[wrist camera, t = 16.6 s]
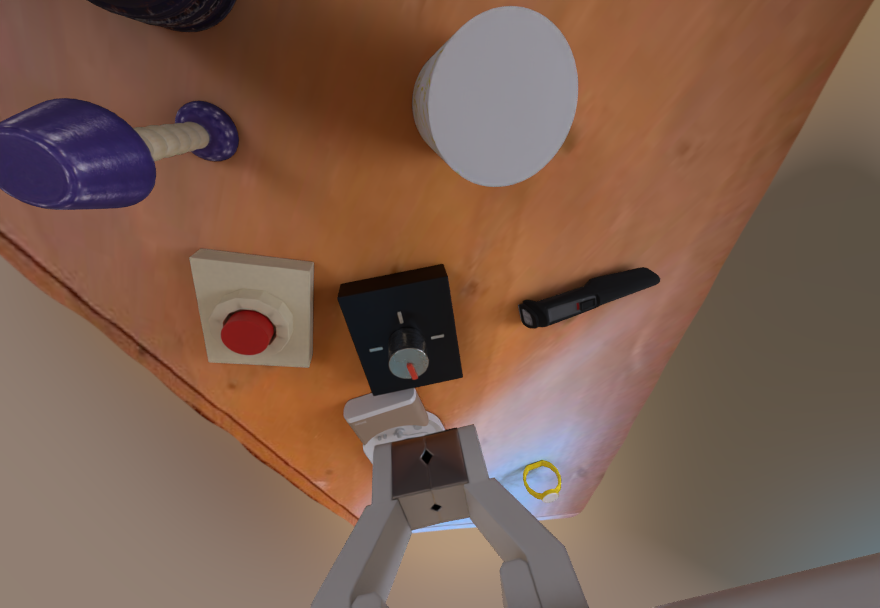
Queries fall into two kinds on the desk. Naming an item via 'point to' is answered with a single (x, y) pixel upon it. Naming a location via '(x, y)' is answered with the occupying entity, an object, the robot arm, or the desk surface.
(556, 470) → the watch
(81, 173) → the toy lamp
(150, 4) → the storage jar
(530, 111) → the white round cylinder
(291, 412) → the desk surface
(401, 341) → the dial
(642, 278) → the electric trimmer
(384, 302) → the control panel
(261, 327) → the power button
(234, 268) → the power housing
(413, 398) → the record player
